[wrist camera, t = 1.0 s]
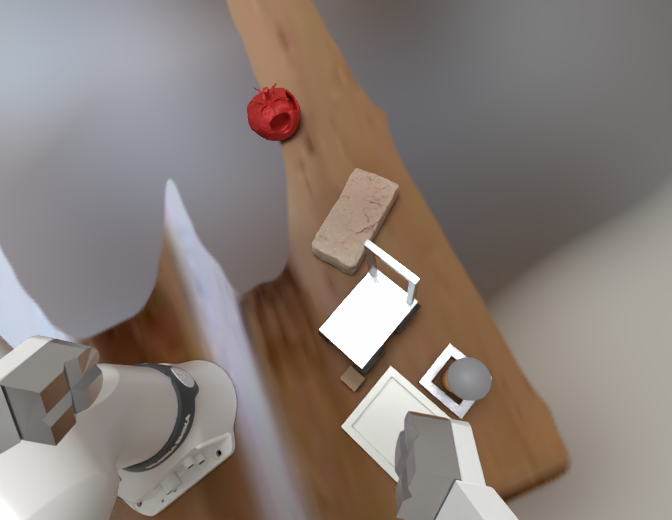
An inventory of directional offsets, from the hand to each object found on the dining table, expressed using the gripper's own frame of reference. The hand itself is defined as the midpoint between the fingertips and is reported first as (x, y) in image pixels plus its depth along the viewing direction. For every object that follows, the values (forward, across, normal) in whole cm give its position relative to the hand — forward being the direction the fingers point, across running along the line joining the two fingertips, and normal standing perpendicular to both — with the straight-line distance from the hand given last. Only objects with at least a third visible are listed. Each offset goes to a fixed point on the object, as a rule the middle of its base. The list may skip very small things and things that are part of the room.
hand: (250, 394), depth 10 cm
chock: (+35, +6, -34) cm, 49 cm away
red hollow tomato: (+69, -16, -6) cm, 71 cm away
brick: (+54, +3, -17) cm, 56 cm away
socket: (+35, +21, -30) cm, 51 cm away
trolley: (+41, +8, -27) cm, 50 cm away
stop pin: (+35, +21, -30) cm, 51 cm away
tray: (+31, +13, -36) cm, 50 cm away
